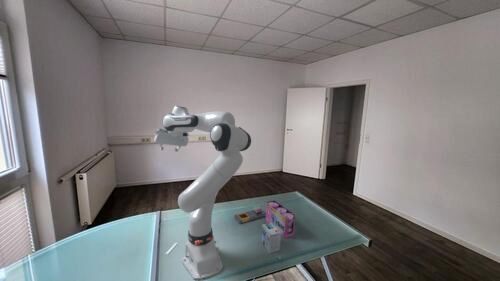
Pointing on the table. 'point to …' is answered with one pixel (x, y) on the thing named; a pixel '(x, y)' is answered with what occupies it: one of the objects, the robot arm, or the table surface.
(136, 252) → the table surface
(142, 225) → the table surface
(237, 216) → the rail
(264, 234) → the light bulb box
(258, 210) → the nut
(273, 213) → the pink product box
